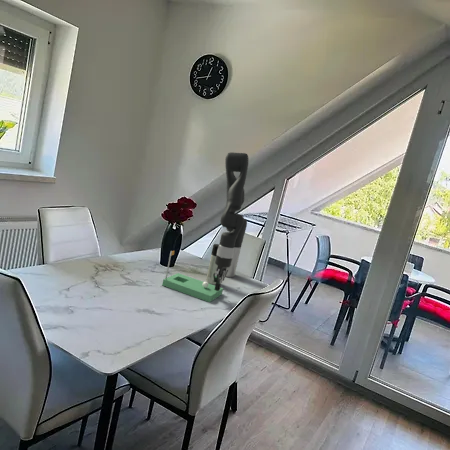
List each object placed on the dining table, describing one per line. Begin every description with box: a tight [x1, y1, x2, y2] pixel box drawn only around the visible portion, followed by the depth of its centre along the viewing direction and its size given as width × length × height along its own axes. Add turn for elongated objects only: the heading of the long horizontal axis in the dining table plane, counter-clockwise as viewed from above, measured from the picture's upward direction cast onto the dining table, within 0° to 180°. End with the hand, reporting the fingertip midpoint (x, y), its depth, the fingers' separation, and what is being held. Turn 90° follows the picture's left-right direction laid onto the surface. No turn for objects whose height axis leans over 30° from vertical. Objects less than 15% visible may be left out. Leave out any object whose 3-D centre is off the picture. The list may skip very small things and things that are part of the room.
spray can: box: [205, 243, 219, 285], centre depth 219 cm, size 7×7×20 cm
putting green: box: [161, 250, 224, 303], centre depth 202 cm, size 15×25×17 cm, turn 69°
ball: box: [202, 281, 209, 288], centre depth 201 cm, size 3×3×3 cm
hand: (216, 290), depth 199 cm, fingers closed
